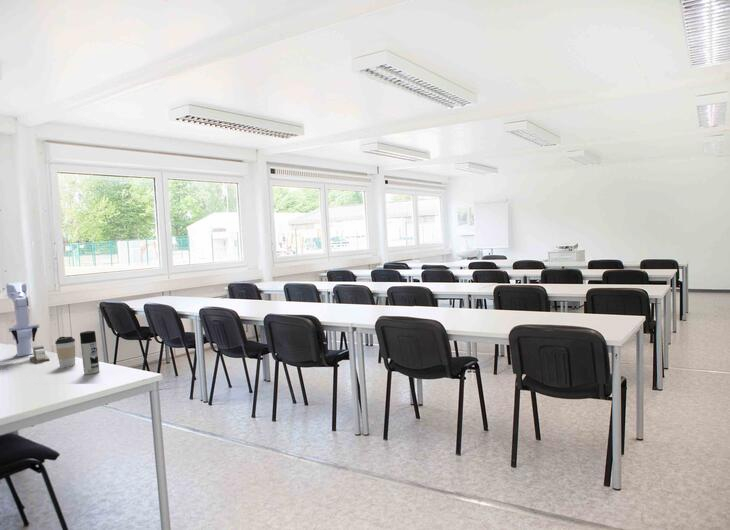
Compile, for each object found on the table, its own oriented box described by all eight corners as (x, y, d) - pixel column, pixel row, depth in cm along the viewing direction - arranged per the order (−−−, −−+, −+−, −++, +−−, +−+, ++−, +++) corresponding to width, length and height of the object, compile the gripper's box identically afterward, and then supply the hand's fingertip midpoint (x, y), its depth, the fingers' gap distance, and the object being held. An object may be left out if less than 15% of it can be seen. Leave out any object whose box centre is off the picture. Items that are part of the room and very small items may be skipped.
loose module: (34, 356, 298) (33, 347, 298) (43, 355, 301) (42, 345, 301) (35, 358, 294) (34, 348, 294) (44, 356, 297) (43, 346, 296)
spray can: (93, 374, 252) (88, 333, 251) (80, 374, 253) (76, 333, 252) (102, 371, 258) (98, 330, 257) (90, 371, 260) (86, 330, 259)
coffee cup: (81, 364, 278) (78, 335, 277) (63, 368, 270) (60, 339, 269) (71, 363, 282) (68, 335, 281) (54, 367, 275) (51, 338, 274)
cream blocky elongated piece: (30, 358, 302) (29, 347, 302) (45, 356, 307) (44, 345, 306) (33, 363, 289) (32, 351, 288) (49, 360, 293) (48, 349, 293)
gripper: (8, 321, 294) (10, 345, 295) (38, 317, 303) (41, 340, 303) (7, 320, 299) (10, 343, 300) (37, 316, 308) (39, 339, 309)
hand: (25, 342), depth 302 cm, fingers open, 7 cm apart
